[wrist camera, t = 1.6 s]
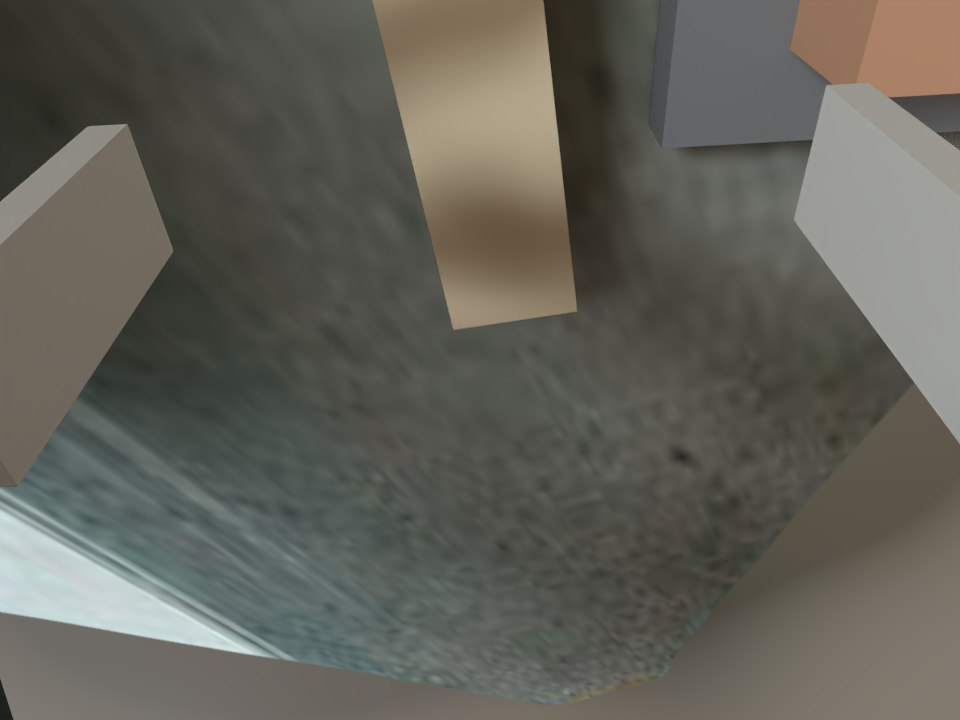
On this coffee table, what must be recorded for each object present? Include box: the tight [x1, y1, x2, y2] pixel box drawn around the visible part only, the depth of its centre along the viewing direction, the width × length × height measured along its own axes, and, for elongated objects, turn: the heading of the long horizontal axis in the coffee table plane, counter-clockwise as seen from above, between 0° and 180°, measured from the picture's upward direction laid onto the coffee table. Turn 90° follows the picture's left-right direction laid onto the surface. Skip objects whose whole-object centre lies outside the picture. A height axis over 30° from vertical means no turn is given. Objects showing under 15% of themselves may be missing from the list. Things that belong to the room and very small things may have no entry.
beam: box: [372, 0, 577, 330], centre depth 24 cm, size 22×5×5 cm, turn 10°
